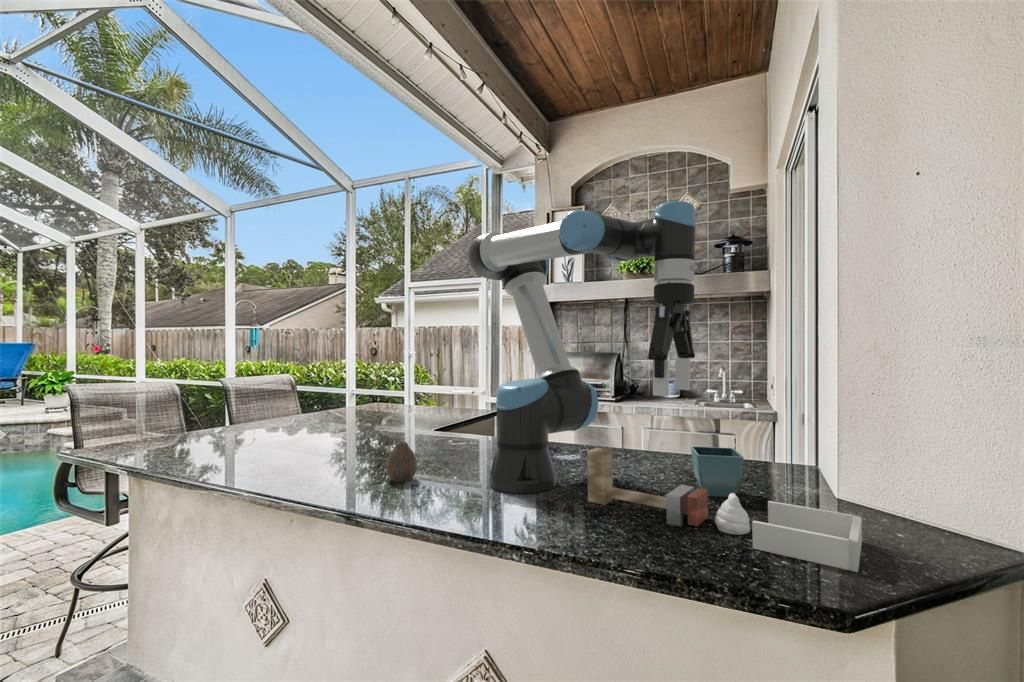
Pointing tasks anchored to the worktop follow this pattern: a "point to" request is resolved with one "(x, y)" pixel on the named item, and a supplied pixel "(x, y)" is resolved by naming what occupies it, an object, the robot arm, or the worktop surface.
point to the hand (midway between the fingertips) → (672, 392)
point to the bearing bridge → (677, 504)
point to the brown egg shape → (401, 463)
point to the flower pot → (717, 469)
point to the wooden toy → (605, 492)
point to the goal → (810, 535)
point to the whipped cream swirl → (732, 517)
